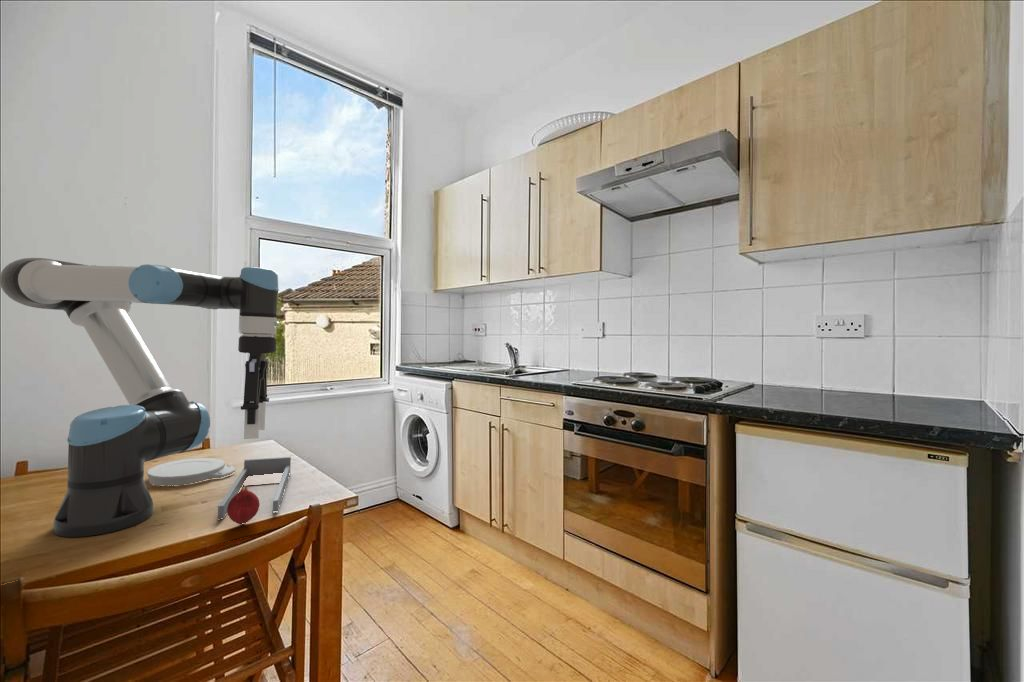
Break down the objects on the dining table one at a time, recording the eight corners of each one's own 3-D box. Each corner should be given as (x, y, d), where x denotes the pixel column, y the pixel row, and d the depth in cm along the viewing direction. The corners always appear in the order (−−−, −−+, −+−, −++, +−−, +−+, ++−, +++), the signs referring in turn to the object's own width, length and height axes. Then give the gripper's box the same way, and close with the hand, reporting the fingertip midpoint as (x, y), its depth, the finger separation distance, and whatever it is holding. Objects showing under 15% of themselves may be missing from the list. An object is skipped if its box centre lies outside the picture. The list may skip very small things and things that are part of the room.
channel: (217, 520, 92) (218, 496, 92) (244, 477, 119) (245, 459, 119) (277, 513, 97) (278, 491, 97) (290, 473, 124) (290, 456, 124)
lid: (223, 485, 114) (223, 474, 113) (131, 490, 108) (132, 478, 108) (243, 466, 130) (244, 456, 130) (165, 469, 124) (166, 459, 124)
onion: (262, 525, 91) (263, 488, 91) (230, 533, 87) (231, 494, 87) (254, 516, 95) (256, 480, 95) (223, 523, 91) (225, 485, 91)
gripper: (270, 336, 91) (266, 443, 91) (281, 335, 110) (278, 424, 110) (228, 335, 88) (224, 446, 88) (247, 334, 107) (244, 425, 107)
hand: (254, 433), depth 99 cm, fingers open, 8 cm apart
